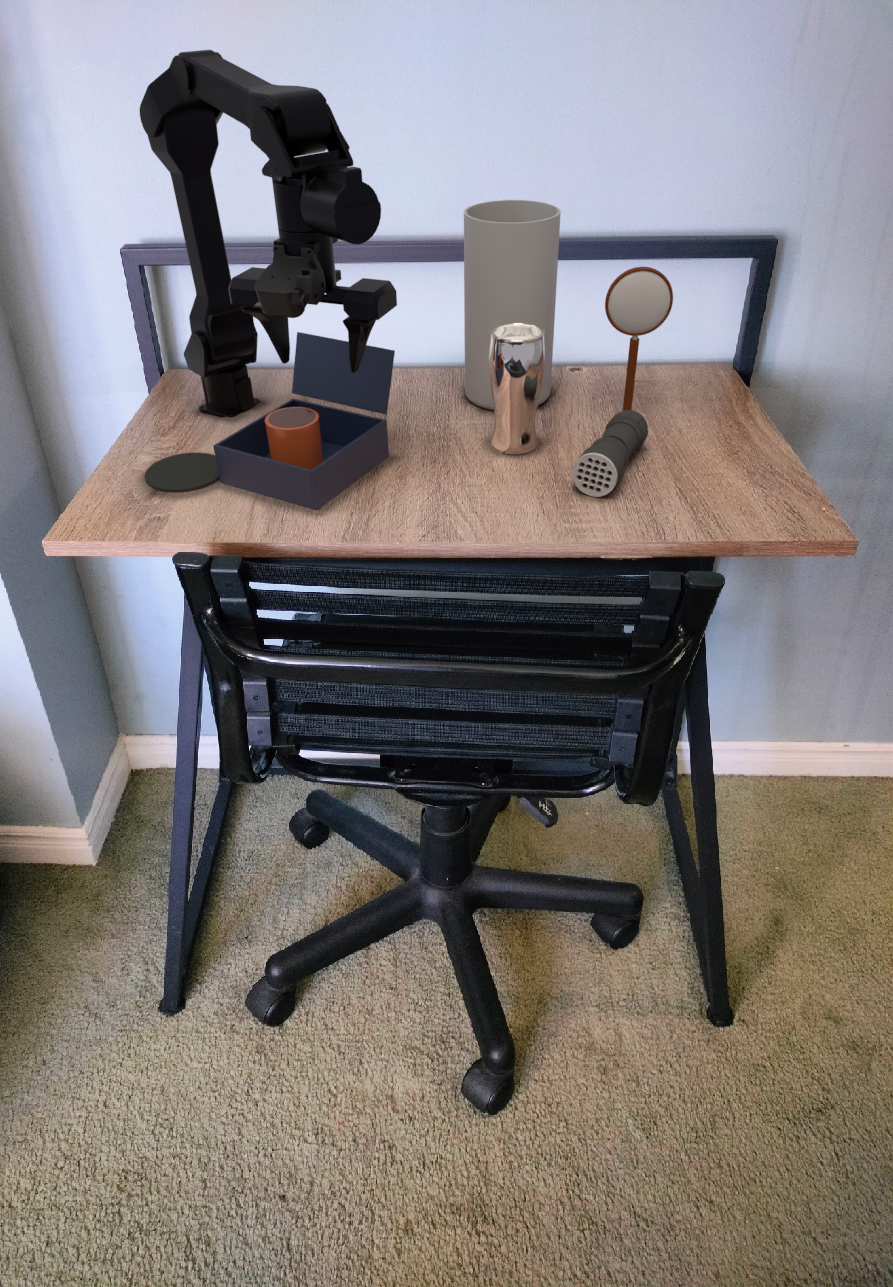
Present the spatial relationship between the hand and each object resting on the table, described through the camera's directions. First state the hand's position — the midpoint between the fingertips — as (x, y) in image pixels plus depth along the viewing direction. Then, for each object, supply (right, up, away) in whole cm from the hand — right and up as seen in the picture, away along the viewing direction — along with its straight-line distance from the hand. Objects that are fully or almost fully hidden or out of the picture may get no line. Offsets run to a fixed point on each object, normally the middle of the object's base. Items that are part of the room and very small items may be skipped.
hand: (320, 367), depth 106 cm
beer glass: (+24, -7, +12) cm, 28 cm away
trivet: (-18, -12, +7) cm, 23 cm away
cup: (-3, -12, +6) cm, 13 cm away
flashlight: (+36, -11, +6) cm, 38 cm away
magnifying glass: (+40, -1, +18) cm, 44 cm away
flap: (+2, +2, +7) cm, 8 cm away
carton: (-3, -11, +7) cm, 13 cm away
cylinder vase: (+24, +3, +25) cm, 35 cm away
